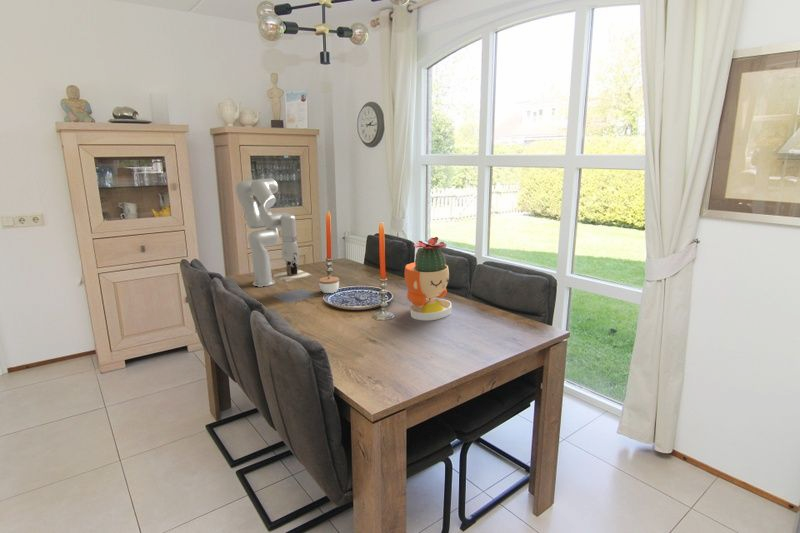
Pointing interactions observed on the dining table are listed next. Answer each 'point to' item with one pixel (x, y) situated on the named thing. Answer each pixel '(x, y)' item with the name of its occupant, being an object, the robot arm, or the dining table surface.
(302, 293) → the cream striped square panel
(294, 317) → the dining table surface
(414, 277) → the potted cactus
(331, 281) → the lidded jar
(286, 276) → the birch lid
